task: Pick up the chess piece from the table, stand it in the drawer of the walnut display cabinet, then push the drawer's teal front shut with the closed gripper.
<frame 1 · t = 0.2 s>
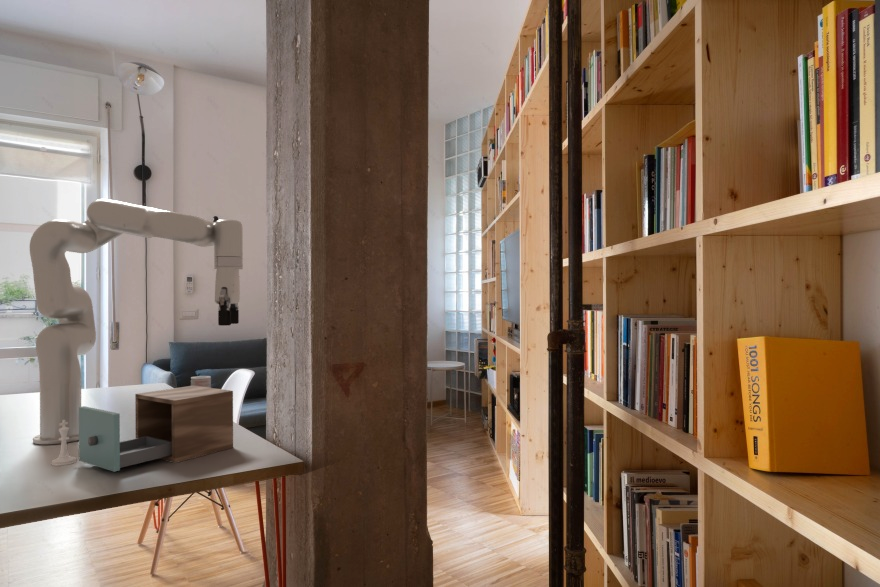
hand: (228, 324, 163), 31 cm above the table, tool pointing down, fingers open, 9 cm apart
chess piece: (63, 463, 136), on the table
drawer: (127, 432, 134), point 7 cm above the table, slide at 12.0 cm
cabinet: (185, 449, 146), on the table
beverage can: (201, 427, 172), on the table
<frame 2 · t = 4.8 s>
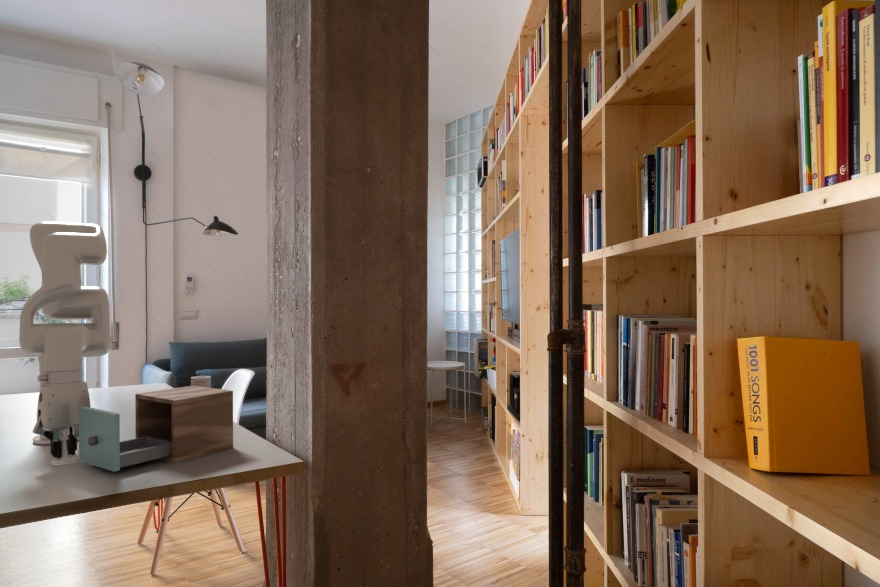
hand: (63, 455, 136), 2 cm above the table, tool pointing down, fingers closed on chess piece
chess piece: (63, 463, 136), on the table, touching gripper
everything else where it was.
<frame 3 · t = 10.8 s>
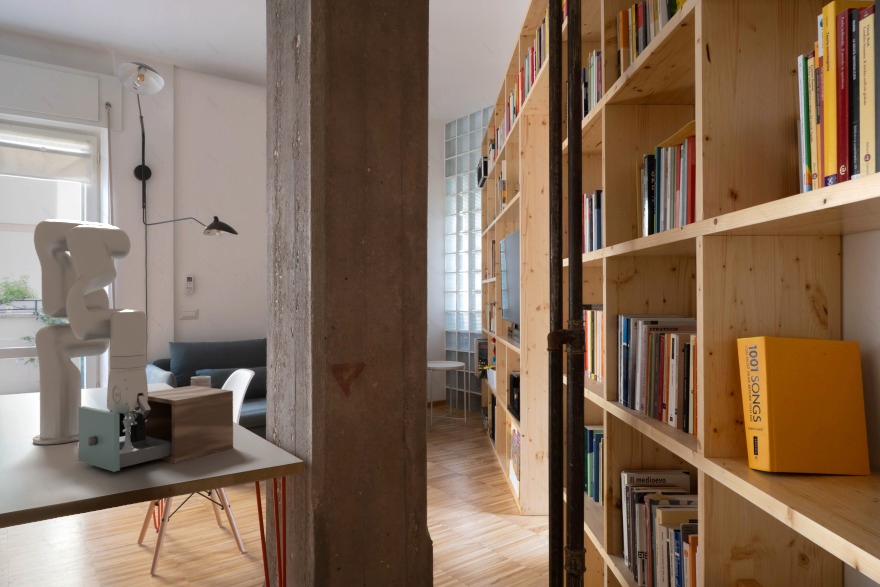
hand: (128, 438, 134), 6 cm above the table, tool pointing down, fingers open, 7 cm apart
chess piece: (127, 455, 134), point 2 cm above the table, touching drawer
drawer: (126, 432, 134), point 7 cm above the table, slide at 12.1 cm, touching chess piece
everything else where it was.
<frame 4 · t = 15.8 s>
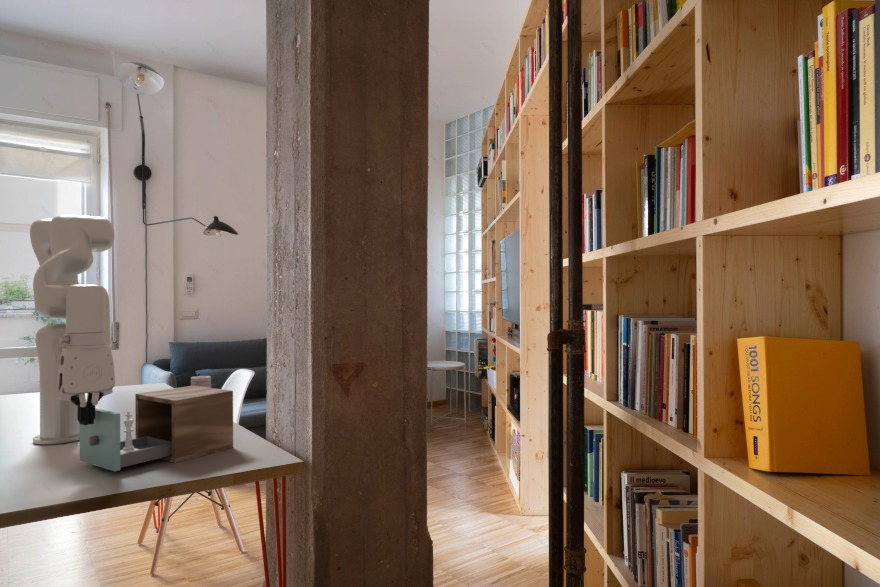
hand: (86, 423, 127), 11 cm above the table, tool pointing down, fingers closed
drawer: (127, 432, 134), point 7 cm above the table, slide at 11.9 cm, touching chess piece, gripper
everything else where it was.
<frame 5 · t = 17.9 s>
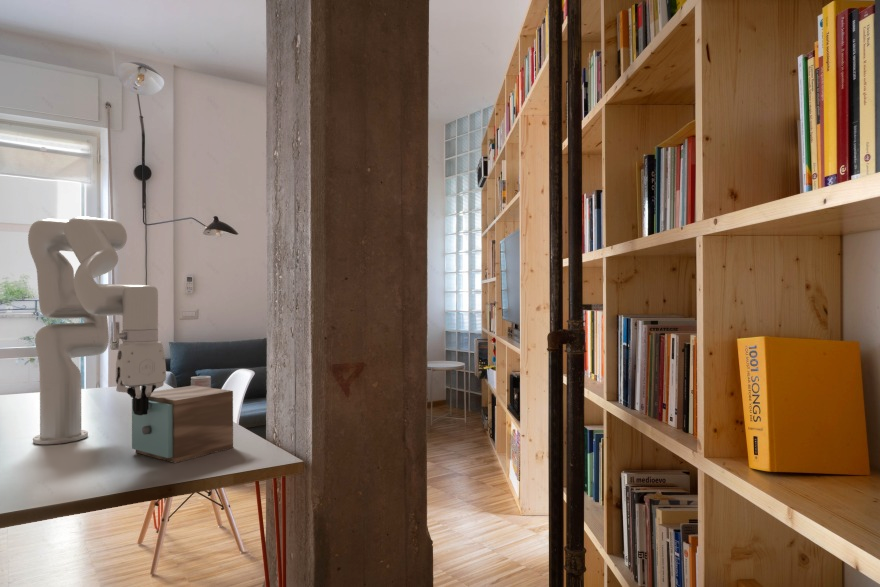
hand: (140, 414, 137), 11 cm above the table, tool pointing down, fingers closed
chess piece: (177, 444, 145), point 2 cm above the table, touching drawer
drawer: (176, 422, 144), point 7 cm above the table, slide at -0.2 cm, touching chess piece, gripper
everything else where it was.
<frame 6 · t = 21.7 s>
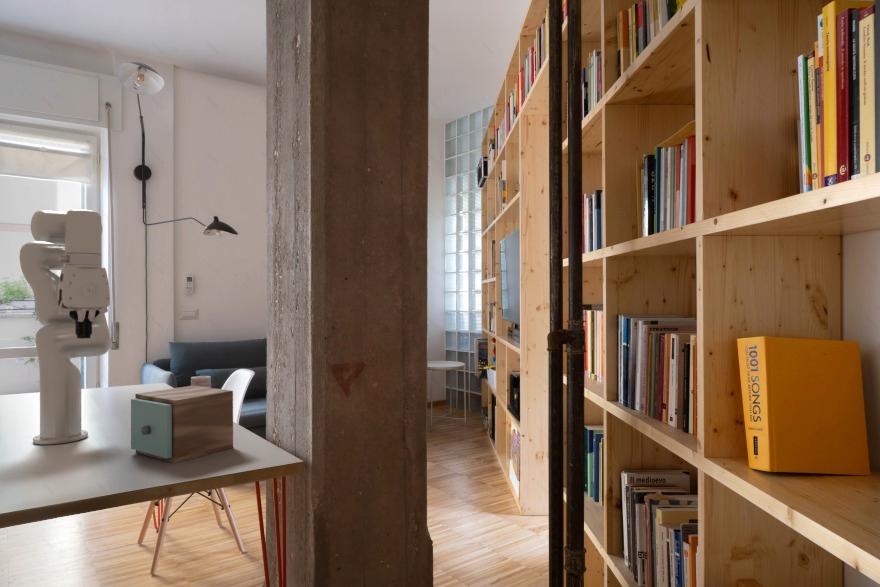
hand: (83, 337, 139), 29 cm above the table, tool pointing down, fingers closed
drawer: (175, 422, 144), point 7 cm above the table, slide at 0.0 cm, touching chess piece
everything else where it was.
at the end: drawer slide at 0.0 cm; chess piece inside the target area (2.3 cm from its centre), point 1.9 cm above the table; chess piece tilted 0° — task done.
